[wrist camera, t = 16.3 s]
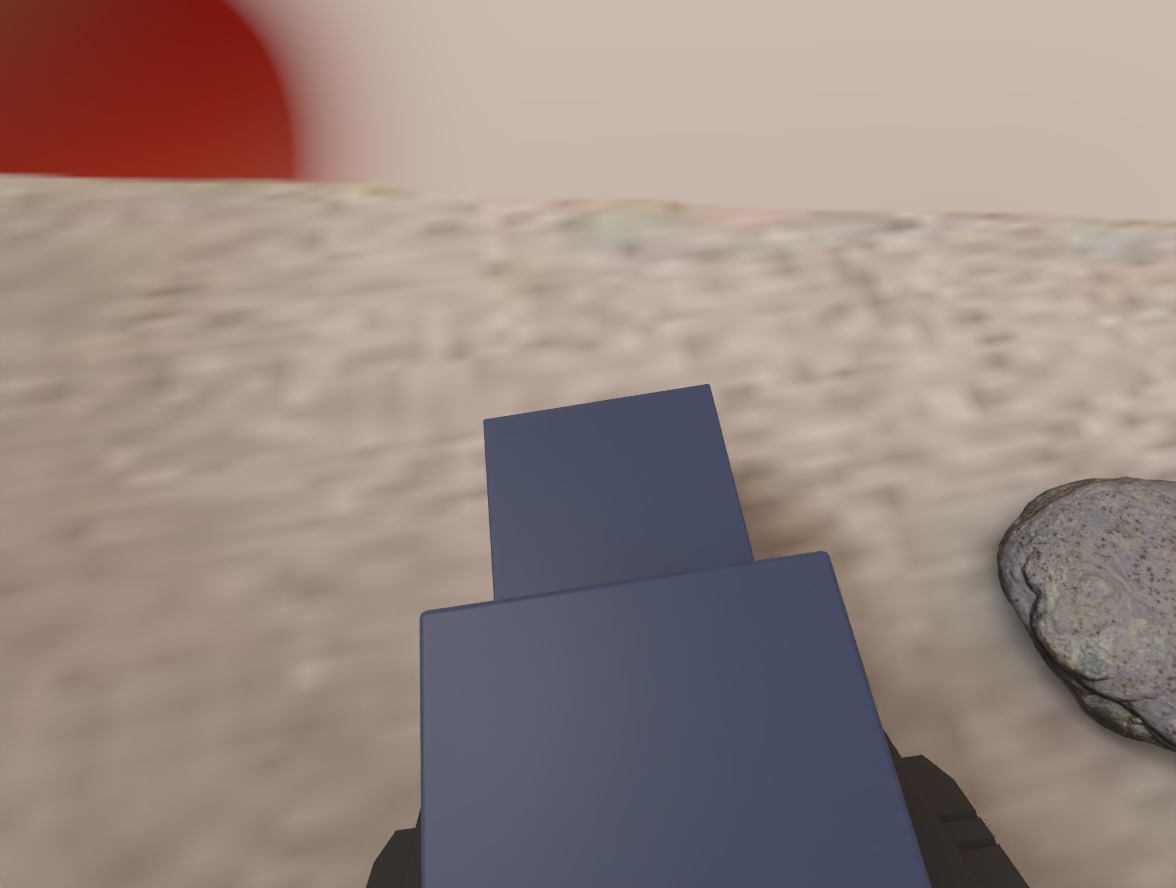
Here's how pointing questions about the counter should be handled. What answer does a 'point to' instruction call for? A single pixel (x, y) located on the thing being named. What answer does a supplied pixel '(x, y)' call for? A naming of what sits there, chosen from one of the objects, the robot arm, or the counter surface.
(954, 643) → the counter surface
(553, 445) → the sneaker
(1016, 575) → the stone
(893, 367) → the counter surface
